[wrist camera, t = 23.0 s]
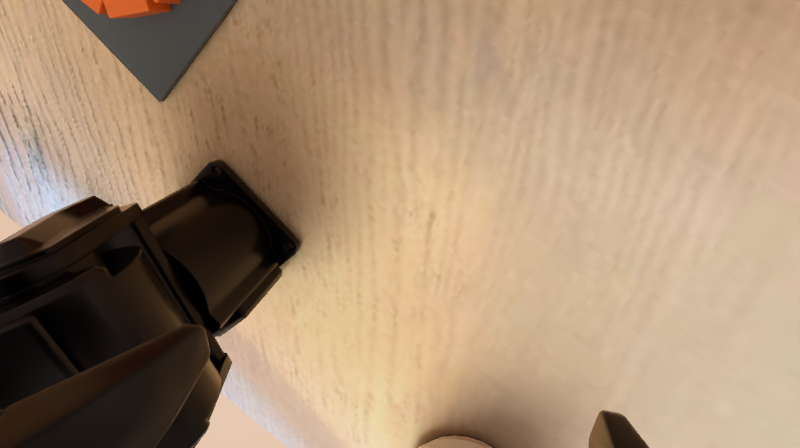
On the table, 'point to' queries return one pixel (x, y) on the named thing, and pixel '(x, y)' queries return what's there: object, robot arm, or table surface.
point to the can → (455, 443)
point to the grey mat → (157, 39)
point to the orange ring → (130, 7)
